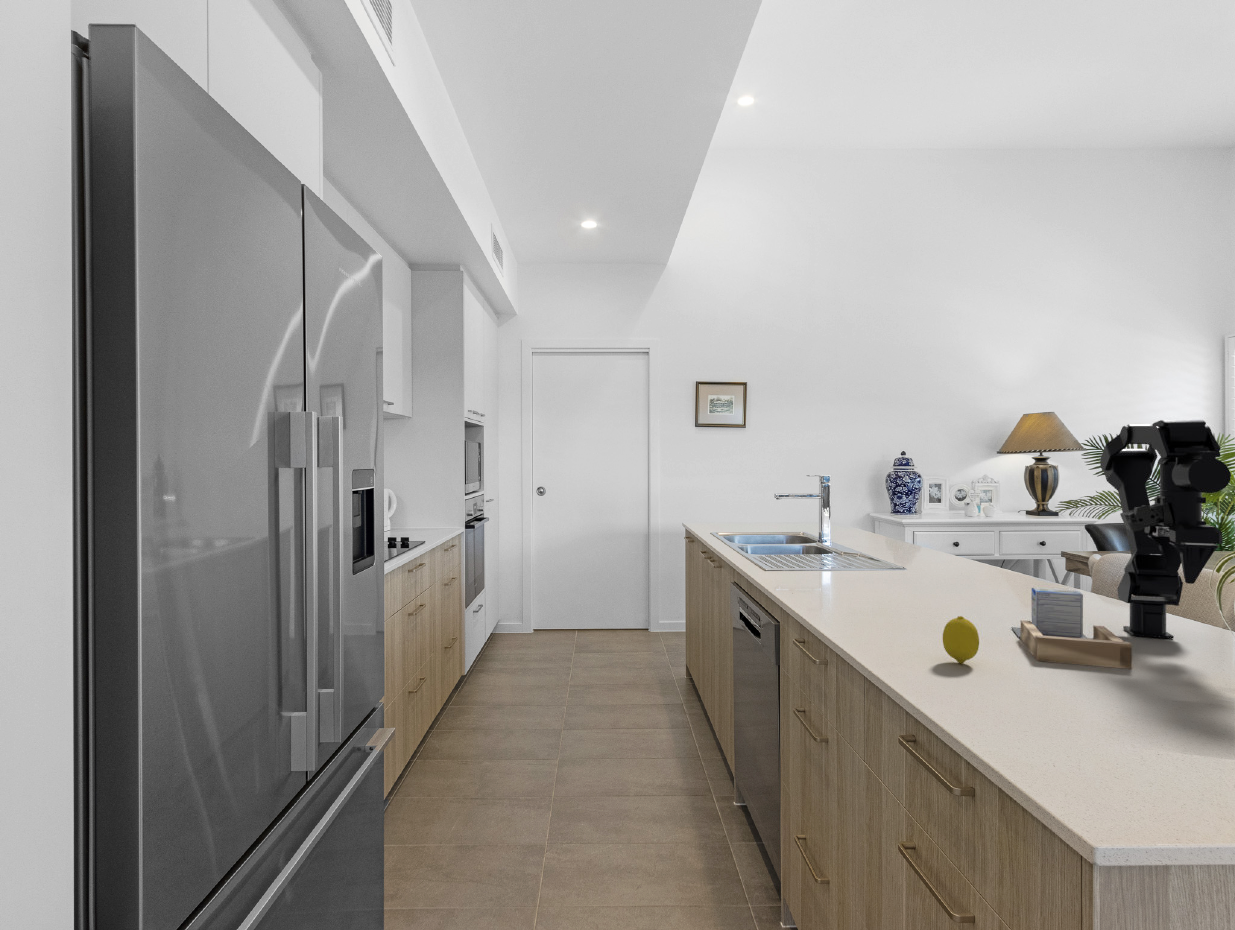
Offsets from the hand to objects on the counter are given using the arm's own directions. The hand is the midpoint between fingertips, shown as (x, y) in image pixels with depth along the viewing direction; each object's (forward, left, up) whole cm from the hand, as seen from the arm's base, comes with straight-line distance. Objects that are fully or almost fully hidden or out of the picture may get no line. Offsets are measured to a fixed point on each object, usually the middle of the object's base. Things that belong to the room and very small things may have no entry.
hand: (1180, 579), depth 122 cm
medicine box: (-6, -18, -13) cm, 23 cm away
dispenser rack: (+6, -18, -13) cm, 23 cm away
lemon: (+20, -37, -13) cm, 44 cm away
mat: (-6, -19, -13) cm, 24 cm away
